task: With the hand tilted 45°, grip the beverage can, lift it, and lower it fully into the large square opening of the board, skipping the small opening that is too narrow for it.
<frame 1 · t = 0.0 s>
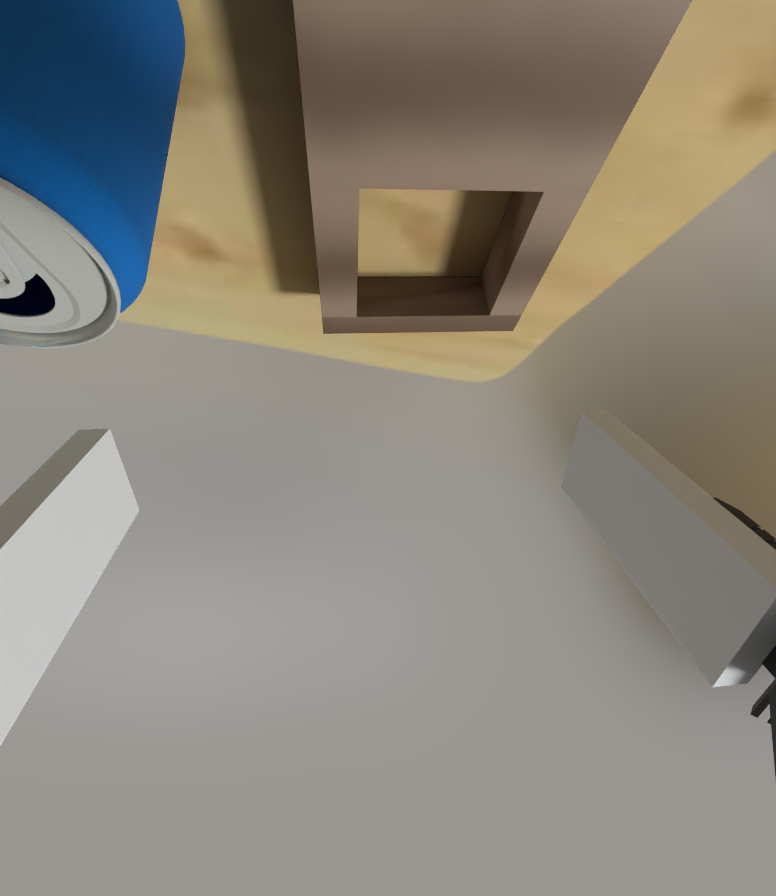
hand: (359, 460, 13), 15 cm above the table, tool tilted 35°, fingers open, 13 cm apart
hole board: (463, 47, 16), on the table
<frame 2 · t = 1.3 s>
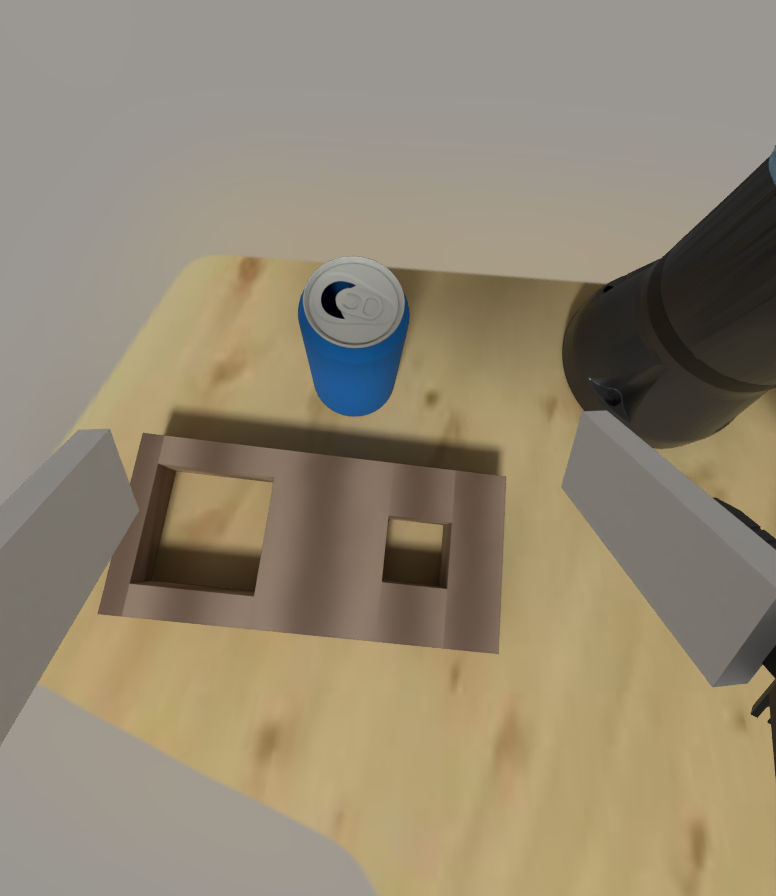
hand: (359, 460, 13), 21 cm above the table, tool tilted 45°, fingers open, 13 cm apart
beverage can: (354, 382, 36), on the table
hole board: (319, 541, 32), on the table
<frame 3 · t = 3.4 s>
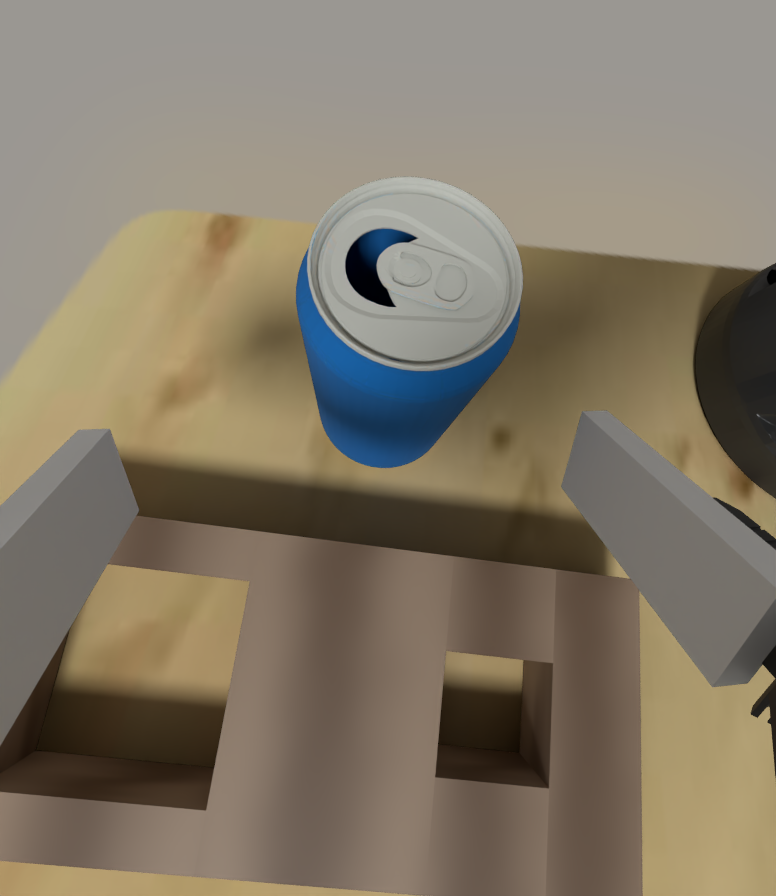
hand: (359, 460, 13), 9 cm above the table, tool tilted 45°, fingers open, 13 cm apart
beverage can: (382, 411, 23), on the table
hole board: (324, 676, 20), on the table
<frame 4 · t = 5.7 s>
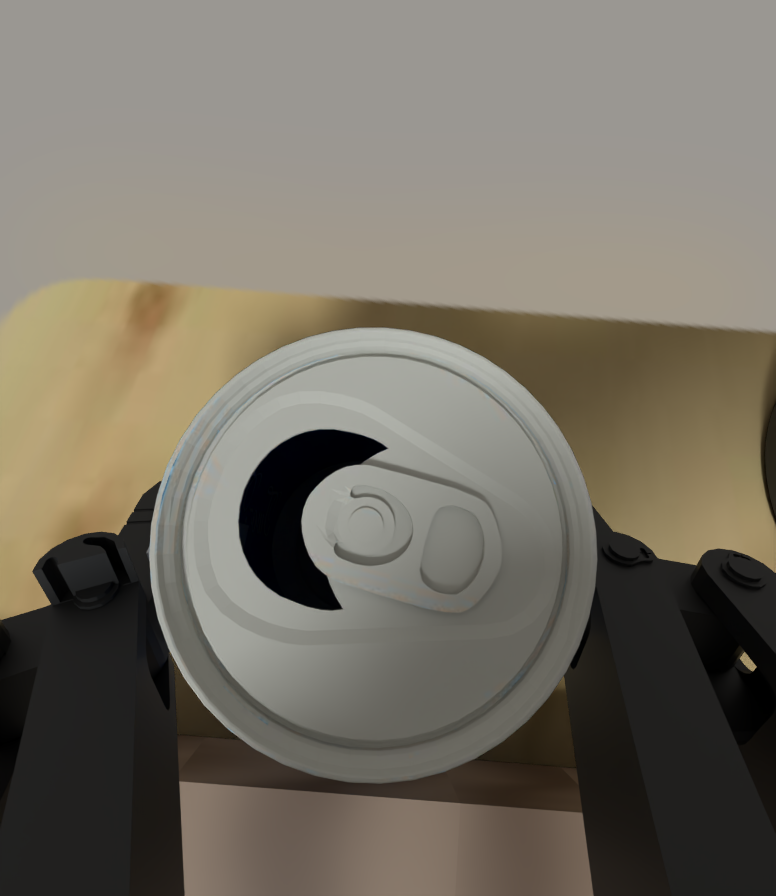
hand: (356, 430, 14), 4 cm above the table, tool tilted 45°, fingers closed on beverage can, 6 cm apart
beverage can: (359, 545, 17), on the table, touching gripper
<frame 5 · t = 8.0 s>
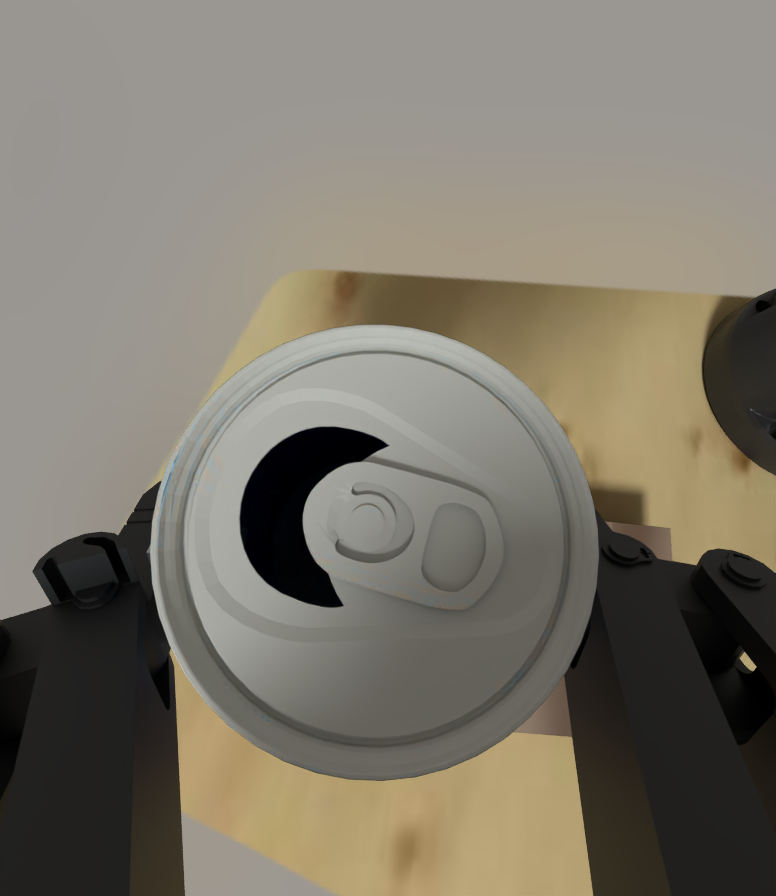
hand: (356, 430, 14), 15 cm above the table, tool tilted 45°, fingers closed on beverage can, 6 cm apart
beverage can: (359, 544, 17), point 11 cm above the table, touching gripper
hole board: (448, 604, 28), on the table
when the fingers open (5 cm above the table, at t = 10.3 s): beverage can drops 1 cm, resting in hole board.
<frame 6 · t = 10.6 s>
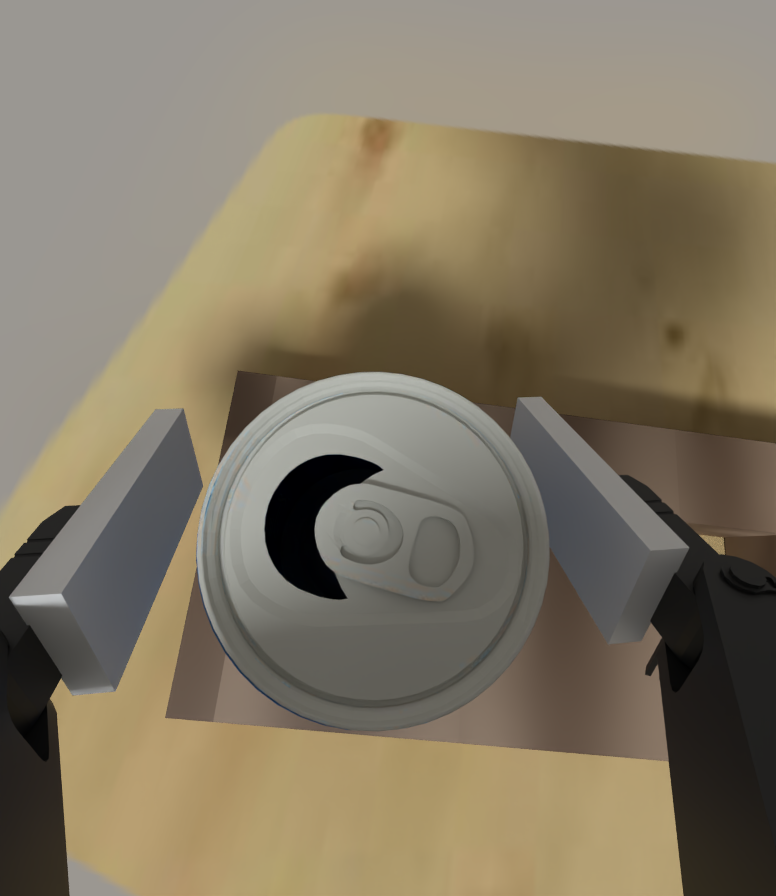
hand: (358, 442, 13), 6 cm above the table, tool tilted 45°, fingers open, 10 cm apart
beverage can: (360, 546, 19), resting in hole board
hole board: (529, 565, 19), on the table
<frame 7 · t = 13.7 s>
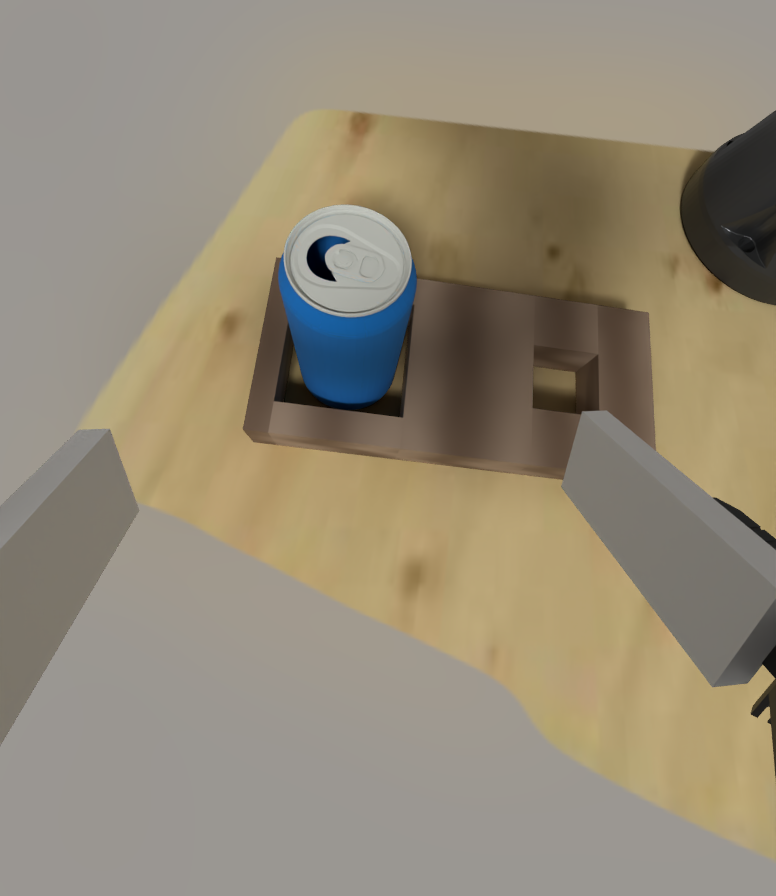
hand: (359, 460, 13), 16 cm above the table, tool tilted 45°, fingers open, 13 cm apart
beverage can: (348, 371, 31), resting in hole board
hole board: (451, 383, 31), on the table
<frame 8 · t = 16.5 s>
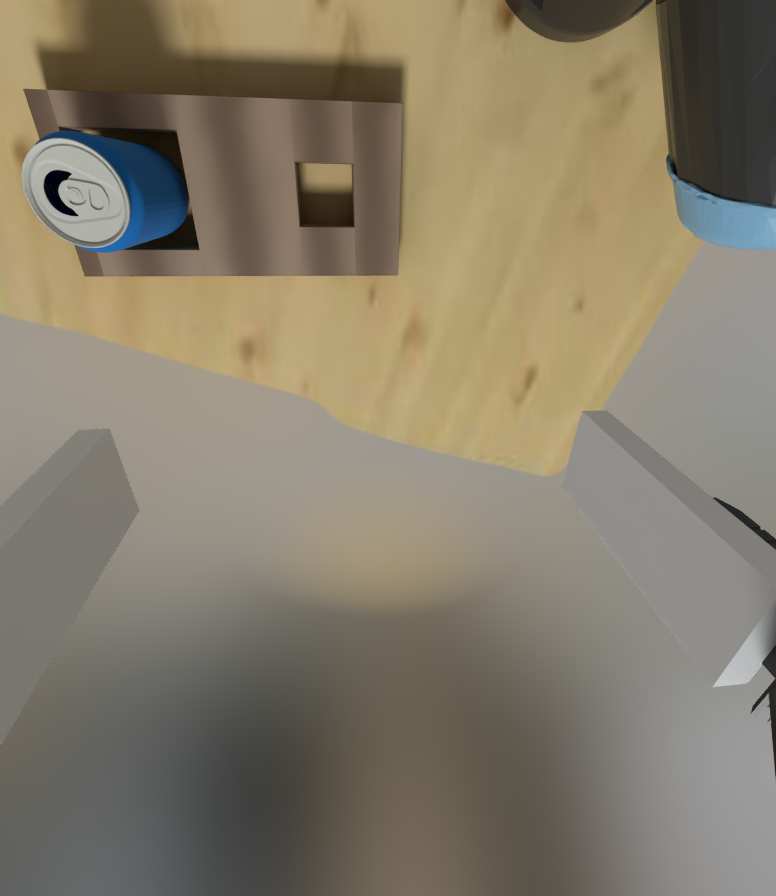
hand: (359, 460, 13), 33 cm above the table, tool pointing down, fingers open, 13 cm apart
beverage can: (150, 192, 36), resting in hole board
hole board: (242, 193, 36), on the table
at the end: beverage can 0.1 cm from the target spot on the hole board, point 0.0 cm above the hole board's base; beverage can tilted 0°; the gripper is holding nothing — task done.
